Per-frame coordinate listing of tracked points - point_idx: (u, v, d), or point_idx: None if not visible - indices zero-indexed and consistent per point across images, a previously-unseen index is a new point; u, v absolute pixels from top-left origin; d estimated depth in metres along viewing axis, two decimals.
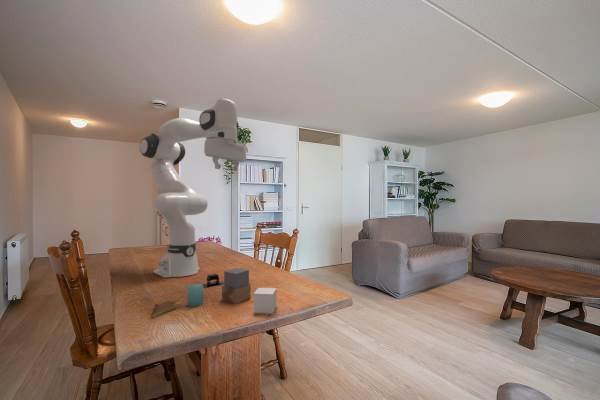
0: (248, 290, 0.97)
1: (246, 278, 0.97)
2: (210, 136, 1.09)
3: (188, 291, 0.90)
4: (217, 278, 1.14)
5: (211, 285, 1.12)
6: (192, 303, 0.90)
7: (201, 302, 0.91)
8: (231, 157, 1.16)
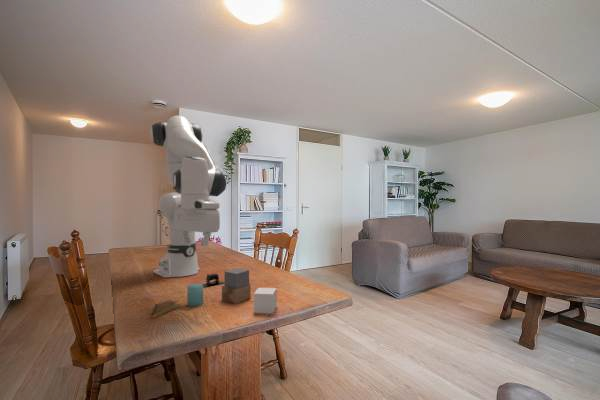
0: (248, 290, 0.97)
1: (246, 278, 0.97)
2: (212, 207, 0.88)
3: (188, 291, 0.90)
4: (217, 278, 1.14)
5: (211, 285, 1.12)
6: (192, 303, 0.90)
7: (201, 302, 0.91)
8: None
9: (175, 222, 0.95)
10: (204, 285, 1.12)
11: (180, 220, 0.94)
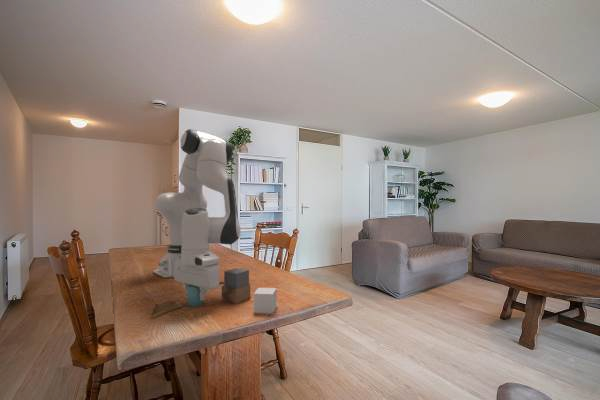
0: (248, 290, 0.97)
1: (246, 278, 0.97)
2: (213, 263, 0.88)
3: (188, 291, 0.90)
4: None
5: None
6: (192, 303, 0.90)
7: (201, 302, 0.91)
8: None
9: (175, 273, 0.95)
10: None
11: (180, 272, 0.94)
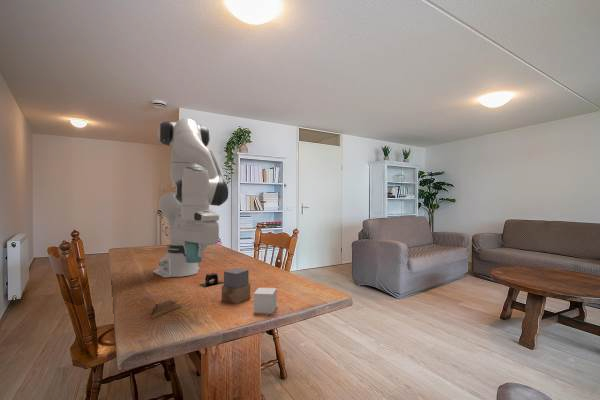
0: (248, 290, 0.97)
1: (246, 278, 0.97)
2: (212, 220, 0.88)
3: (186, 247, 0.90)
4: (216, 277, 1.15)
5: (211, 284, 1.13)
6: (190, 260, 0.90)
7: (199, 259, 0.92)
8: None
9: (175, 231, 0.96)
10: (204, 285, 1.12)
11: (179, 230, 0.94)
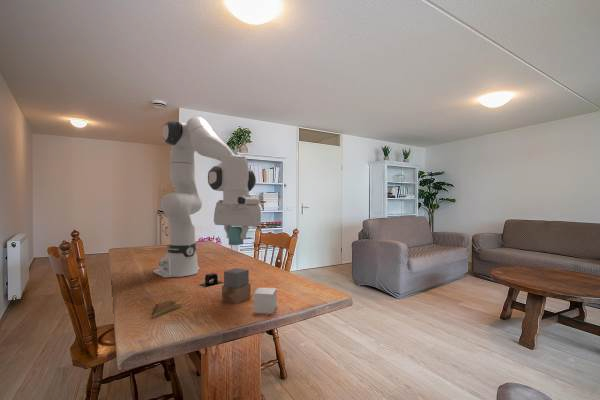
0: (248, 290, 0.97)
1: (246, 278, 0.97)
2: (254, 203, 0.93)
3: (230, 231, 0.95)
4: (216, 277, 1.15)
5: (211, 284, 1.13)
6: (234, 242, 0.95)
7: (242, 242, 0.96)
8: None
9: (216, 217, 1.00)
10: (204, 285, 1.13)
11: (221, 215, 0.99)
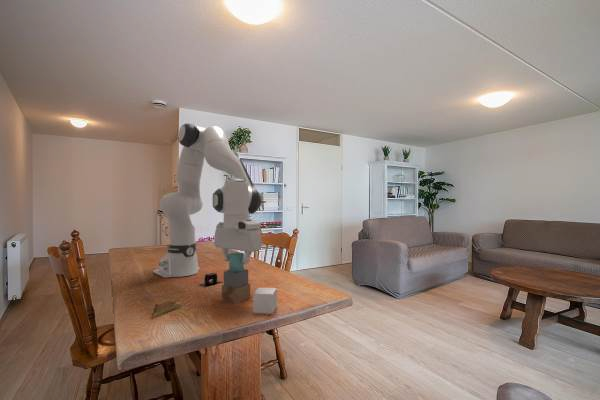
0: (248, 290, 0.97)
1: (245, 278, 0.97)
2: (255, 228, 0.93)
3: (230, 258, 0.95)
4: (215, 277, 1.16)
5: (210, 284, 1.13)
6: (234, 269, 0.94)
7: (242, 269, 0.96)
8: None
9: (216, 240, 1.00)
10: (203, 285, 1.13)
11: (221, 238, 0.99)
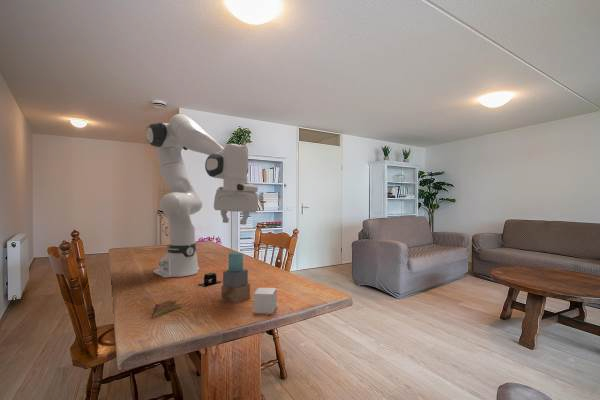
0: (247, 290, 0.97)
1: (245, 278, 0.97)
2: (252, 190, 0.99)
3: (230, 258, 0.95)
4: (215, 277, 1.16)
5: (210, 284, 1.14)
6: (234, 269, 0.95)
7: (242, 269, 0.96)
8: None
9: (215, 203, 1.06)
10: (203, 285, 1.13)
11: (221, 201, 1.05)
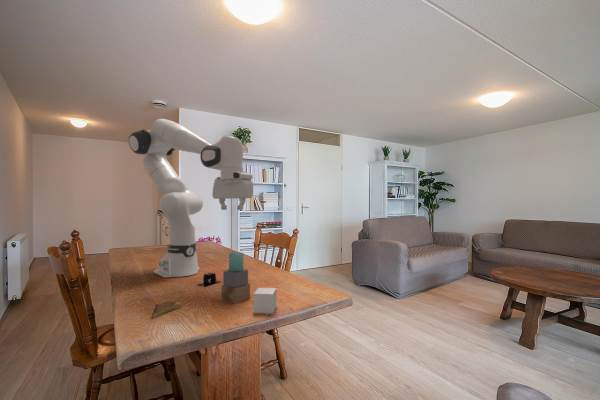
0: (247, 290, 0.97)
1: (245, 278, 0.97)
2: (247, 178, 1.07)
3: (230, 258, 0.95)
4: (214, 276, 1.16)
5: (210, 284, 1.14)
6: (234, 269, 0.95)
7: (242, 268, 0.97)
8: None
9: (214, 192, 1.15)
10: (203, 284, 1.13)
11: (219, 189, 1.13)
